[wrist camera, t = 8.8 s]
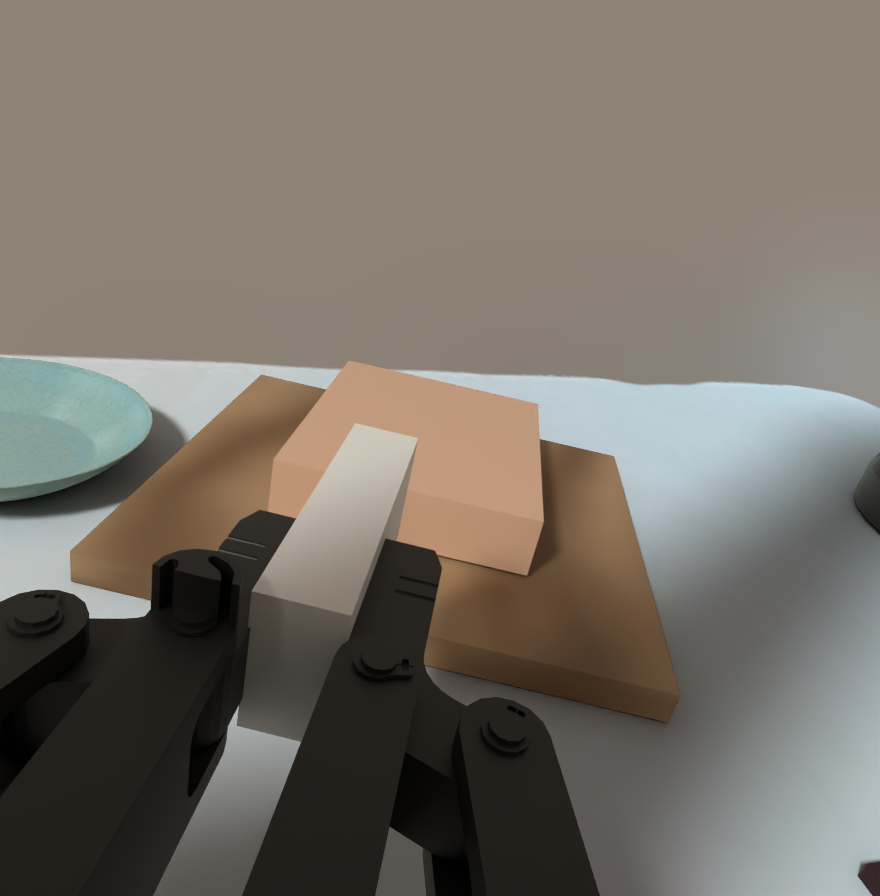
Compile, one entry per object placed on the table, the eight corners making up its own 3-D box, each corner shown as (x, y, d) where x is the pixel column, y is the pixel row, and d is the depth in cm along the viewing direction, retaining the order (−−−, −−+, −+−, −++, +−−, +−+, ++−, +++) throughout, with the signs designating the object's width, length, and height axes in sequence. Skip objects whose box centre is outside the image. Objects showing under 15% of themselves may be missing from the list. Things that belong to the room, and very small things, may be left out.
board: (607, 475, 39) (613, 456, 38) (667, 722, 23) (680, 695, 22) (259, 394, 39) (261, 374, 39) (70, 581, 23) (69, 551, 22)
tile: (526, 578, 26) (525, 447, 37) (543, 521, 25) (537, 404, 36) (266, 518, 26) (342, 405, 37) (273, 458, 25) (348, 360, 36)
